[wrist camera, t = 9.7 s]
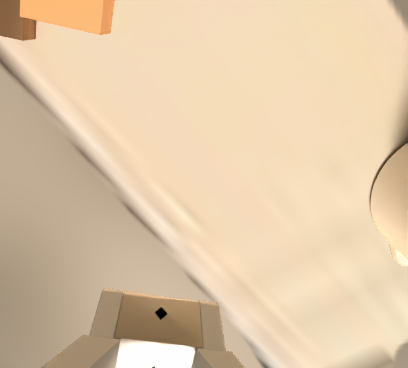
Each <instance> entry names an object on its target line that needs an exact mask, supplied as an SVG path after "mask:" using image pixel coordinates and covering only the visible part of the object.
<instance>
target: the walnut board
mask: <svg viewBox="0 0 408 368" xmlns="http://www.w3.org/2000/svg"><path fill="white" fill-rule="evenodd" d="M0 36H4V37H9V38H14V39H18V40H31V39H35V38H36V20H33V19H29V18H24V17H20V0H0Z"/></svg>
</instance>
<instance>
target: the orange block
mask: <svg viewBox="0 0 408 368" xmlns="http://www.w3.org/2000/svg"><path fill="white" fill-rule="evenodd" d="M113 7H114V0H20V17H24V18H29V19H33V20H37V21H42V22H46V23H51V24H55V25H59V26H64V27H68V28H72V29H77V30H81V31H85V32H90V33H94V34H98V35H102V34H108V33H110V32H111V24H112V16H113Z"/></svg>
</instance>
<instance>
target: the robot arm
mask: <svg viewBox="0 0 408 368" xmlns="http://www.w3.org/2000/svg"><path fill="white" fill-rule="evenodd" d="M371 214H372V218H373V221H374V223H375V225H376V227H377V228H378V230H379V231H380V232H381V233H382V234H383V236H384V237H385V238H386V239H387V240H388V242H389V243H390V248H391V253H392V256H393V258H394V260H395V261H397V262H398V263H399V264H400V265H403V266H408V143H407V144H405V145H404V146H403V147H401V148H400V149H399V150H398V151H397V152H396V153H395V154H393V155H392V157H391V158H390V159H389V160H388V161H387V162H386V164H385V165H384V166H383V168H382V169H381V171H380V173H379V175H378V176H377V179H376V181H375V183H374V186H373V189H372V194H371ZM41 368H245V367H244V365H243V364H242V363H241V362H240V361H239V360H238V359H237V358H236V356H235V355H234V354H233V353H232V352H229V351H226V349H225V343H224V335H223V329H222V322H221V315H220V308H219V305H218V303H215V302H205V301H199V302H198V301H192V300H184V299H175V298H167V297H161V296H154V295H148V294H141V293H134V292H128V291H124V293H123V291H120V290H113V289H106V288H104V289H103V291H102V293H101V297H100V300H99V304H98V307H97V311H96V314H95V317H94V321H93V324H92V328H91V331H90V335H89V336H87V335H83V336H81V337H80V338H79V339H78V340H76V341H75V342H74V343H72V344H71V345H70V346H68V347H67V348H66V349H64V350H63V351H62V352H61V353H59V354H58V355H57V356H55V357H54V358H53V359H52V360H50V361H49V362H48V363H46V364H45V365H44V366H42V367H41Z"/></svg>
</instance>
